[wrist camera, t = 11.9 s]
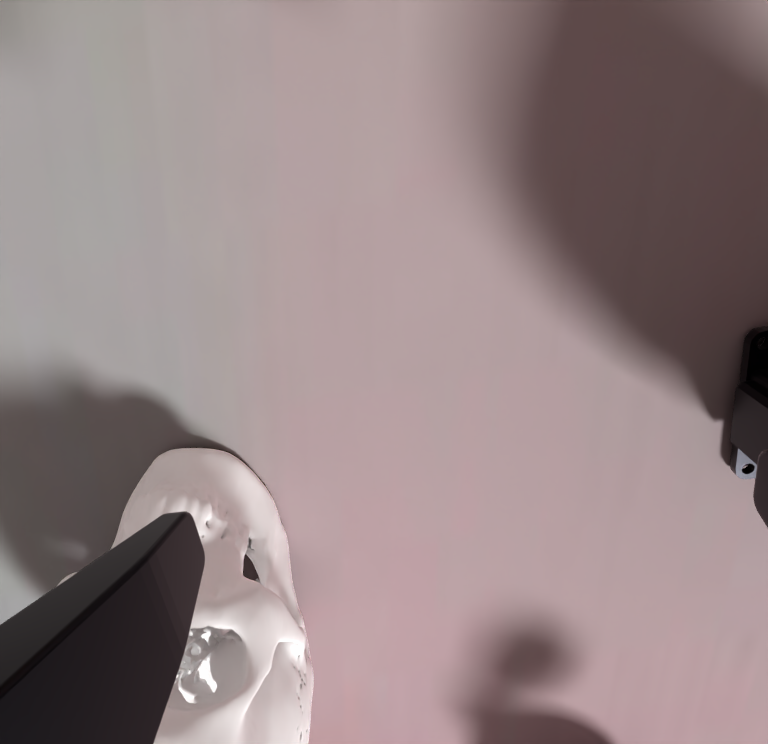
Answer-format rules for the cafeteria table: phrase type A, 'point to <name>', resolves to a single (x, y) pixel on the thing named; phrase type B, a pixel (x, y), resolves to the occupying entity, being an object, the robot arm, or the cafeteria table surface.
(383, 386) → the cafeteria table surface
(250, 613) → the skull bowl
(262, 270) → the cafeteria table surface
